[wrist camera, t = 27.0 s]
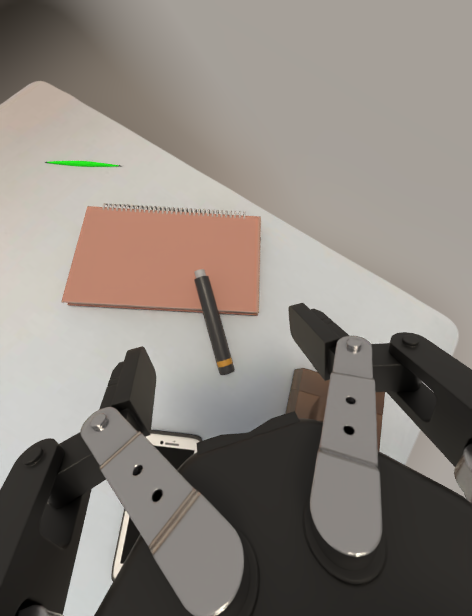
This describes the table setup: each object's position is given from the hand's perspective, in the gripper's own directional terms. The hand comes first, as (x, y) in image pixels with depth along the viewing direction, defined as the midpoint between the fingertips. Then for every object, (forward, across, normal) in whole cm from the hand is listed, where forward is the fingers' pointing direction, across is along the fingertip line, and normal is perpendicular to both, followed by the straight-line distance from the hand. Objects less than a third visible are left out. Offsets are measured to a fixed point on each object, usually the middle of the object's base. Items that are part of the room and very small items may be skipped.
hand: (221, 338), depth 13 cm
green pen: (+43, +15, -13) cm, 47 cm away
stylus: (+20, 0, +3) cm, 20 cm away
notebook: (+27, +4, +2) cm, 28 cm away
